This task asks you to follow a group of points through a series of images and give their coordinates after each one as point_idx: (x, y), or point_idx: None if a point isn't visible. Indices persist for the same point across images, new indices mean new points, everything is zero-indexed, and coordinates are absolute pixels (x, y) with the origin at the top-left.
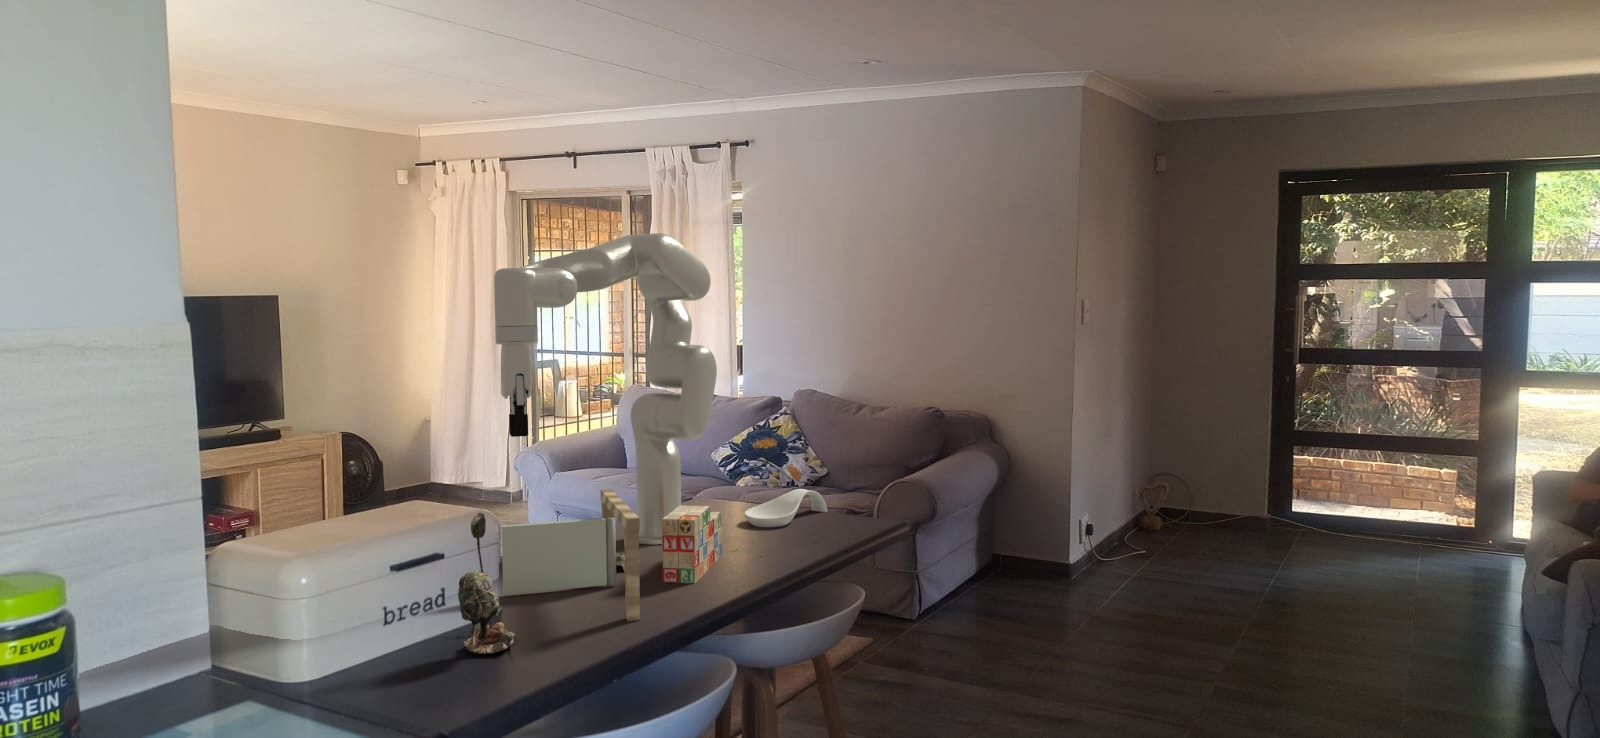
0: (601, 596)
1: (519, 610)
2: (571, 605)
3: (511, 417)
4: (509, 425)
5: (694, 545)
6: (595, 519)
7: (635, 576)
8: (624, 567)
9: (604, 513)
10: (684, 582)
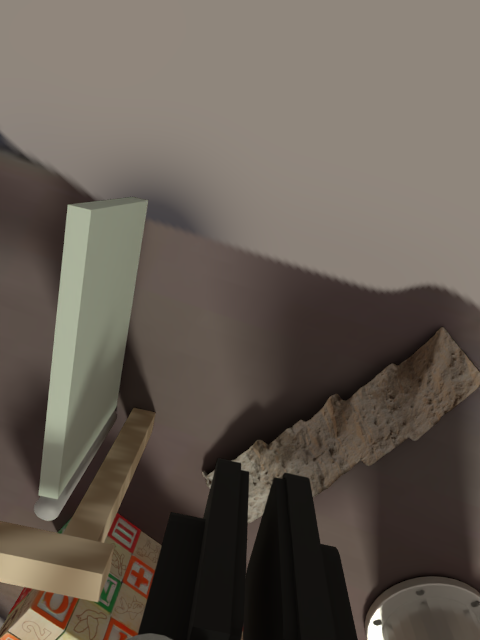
0: (50, 371)
1: (18, 195)
2: (11, 300)
3: (192, 610)
4: (290, 530)
5: (19, 596)
6: (50, 474)
7: None
8: (211, 479)
9: (76, 513)
10: (67, 522)
